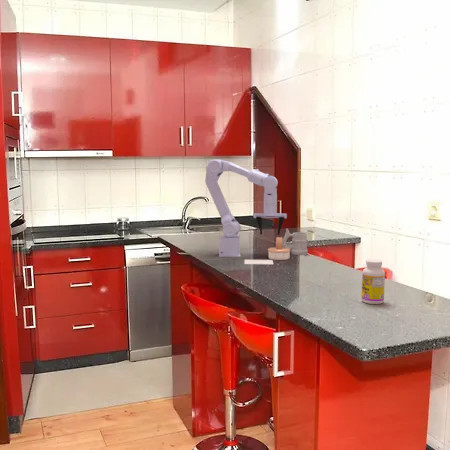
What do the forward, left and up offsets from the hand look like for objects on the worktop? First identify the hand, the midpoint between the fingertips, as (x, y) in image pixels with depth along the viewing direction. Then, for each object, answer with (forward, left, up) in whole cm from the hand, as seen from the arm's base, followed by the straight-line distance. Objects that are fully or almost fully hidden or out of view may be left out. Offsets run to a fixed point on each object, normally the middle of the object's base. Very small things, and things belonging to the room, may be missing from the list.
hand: (269, 234), depth 244 cm
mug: (+12, +9, -11) cm, 18 cm away
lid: (+4, -4, -7) cm, 9 cm away
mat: (-5, -13, -10) cm, 17 cm away
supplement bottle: (+29, -75, -11) cm, 81 cm away
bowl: (+4, -3, -10) cm, 12 cm away
